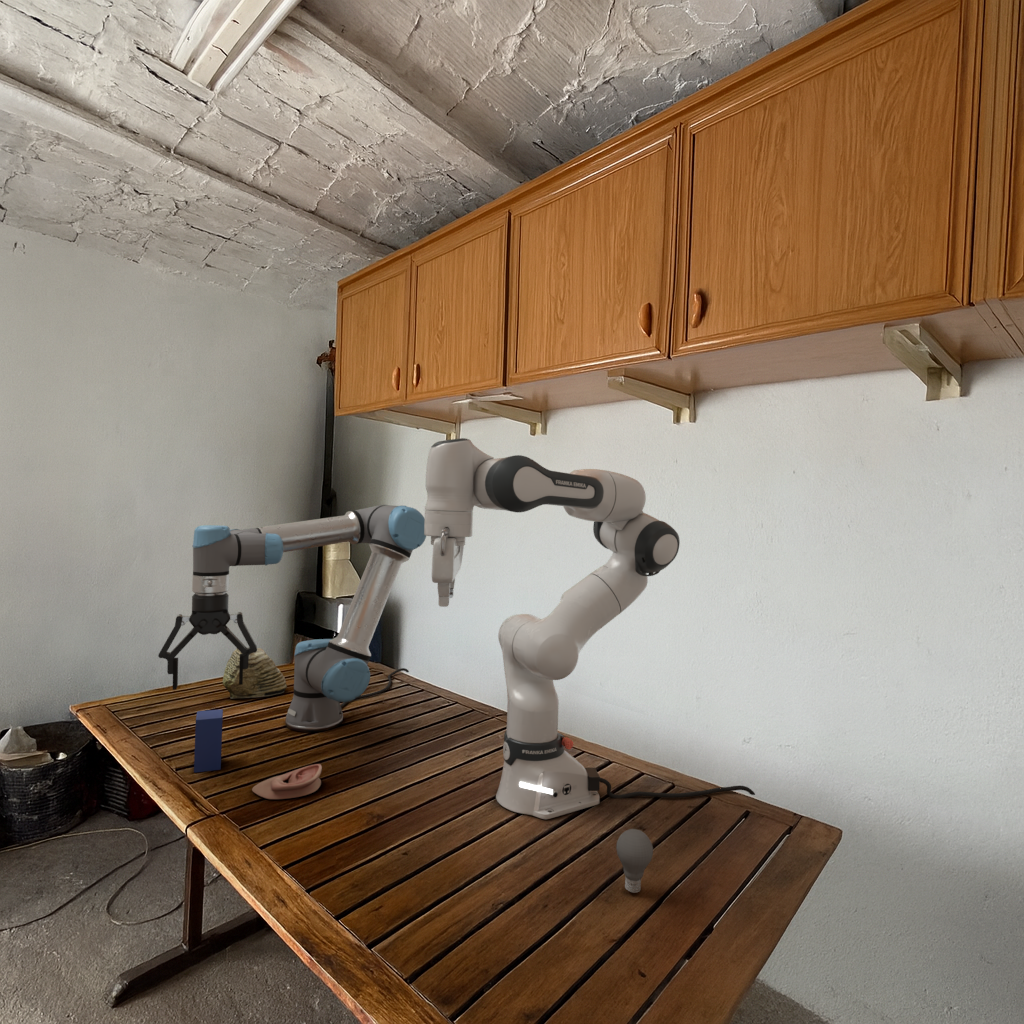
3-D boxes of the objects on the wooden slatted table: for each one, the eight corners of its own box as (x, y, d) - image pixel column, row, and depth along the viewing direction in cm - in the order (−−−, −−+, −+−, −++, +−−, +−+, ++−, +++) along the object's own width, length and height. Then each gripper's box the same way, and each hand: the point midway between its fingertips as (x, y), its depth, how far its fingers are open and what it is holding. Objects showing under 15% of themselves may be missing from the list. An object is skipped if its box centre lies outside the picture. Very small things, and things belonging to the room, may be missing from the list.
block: (193, 772, 142) (195, 720, 142) (195, 762, 148) (197, 711, 148) (220, 769, 145) (222, 717, 144) (221, 759, 150) (222, 709, 150)
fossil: (218, 695, 195) (220, 647, 195) (278, 685, 208) (279, 640, 207) (228, 703, 189) (230, 653, 188) (289, 692, 201) (290, 645, 201)
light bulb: (610, 879, 108) (613, 822, 108) (644, 879, 109) (647, 822, 109) (619, 902, 102) (622, 840, 102) (655, 901, 103) (658, 840, 103)
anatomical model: (244, 776, 132) (275, 755, 144) (243, 795, 132) (274, 772, 144) (301, 785, 130) (329, 762, 141) (301, 804, 130) (328, 780, 141)
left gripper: (145, 597, 136) (143, 695, 137) (269, 594, 146) (267, 685, 146) (150, 592, 143) (148, 685, 144) (268, 589, 153) (266, 676, 153)
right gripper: (462, 529, 106) (459, 612, 106) (468, 524, 126) (466, 593, 127) (424, 528, 106) (421, 611, 106) (437, 523, 126) (435, 592, 126)
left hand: (208, 685), depth 145 cm, fingers open, 13 cm apart
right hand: (446, 601), depth 116 cm, fingers open, 8 cm apart
